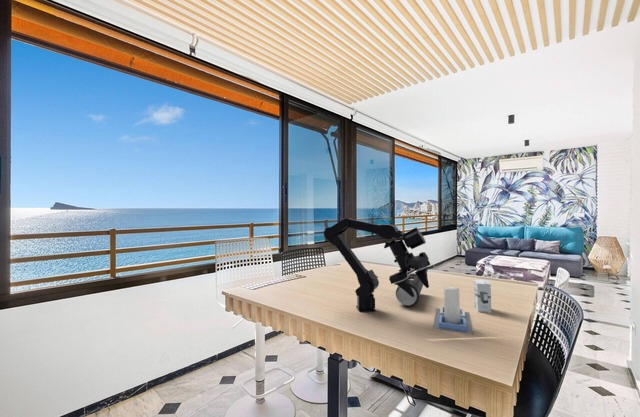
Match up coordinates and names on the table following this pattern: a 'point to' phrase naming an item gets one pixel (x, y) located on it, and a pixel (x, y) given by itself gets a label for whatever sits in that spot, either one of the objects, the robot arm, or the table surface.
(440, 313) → the duct plate
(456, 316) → the white piece
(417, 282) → the black silver cylinder
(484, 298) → the ink box
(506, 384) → the table surface
